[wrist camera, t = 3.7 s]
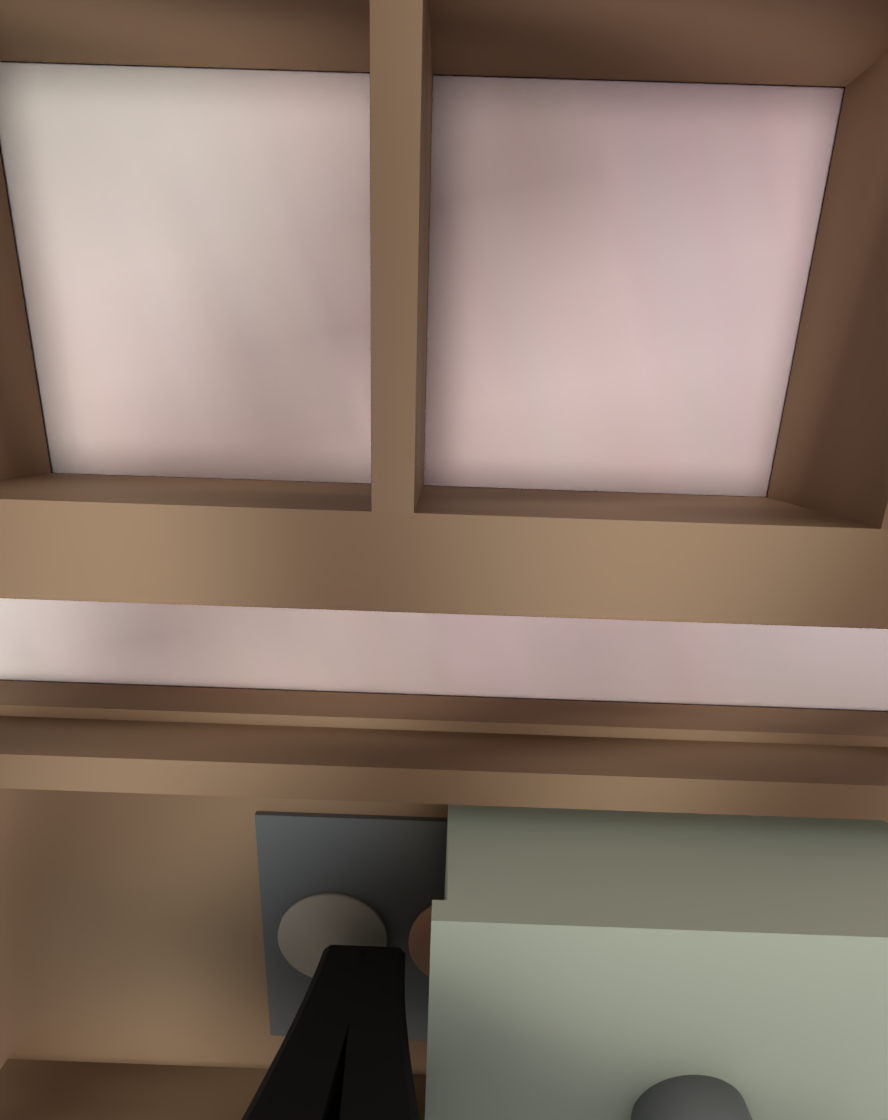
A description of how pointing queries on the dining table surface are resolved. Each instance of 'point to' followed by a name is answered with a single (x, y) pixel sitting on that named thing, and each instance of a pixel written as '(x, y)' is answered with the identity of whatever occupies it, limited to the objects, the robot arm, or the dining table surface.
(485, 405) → the dining table surface
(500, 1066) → the lid
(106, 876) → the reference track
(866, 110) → the socket board
